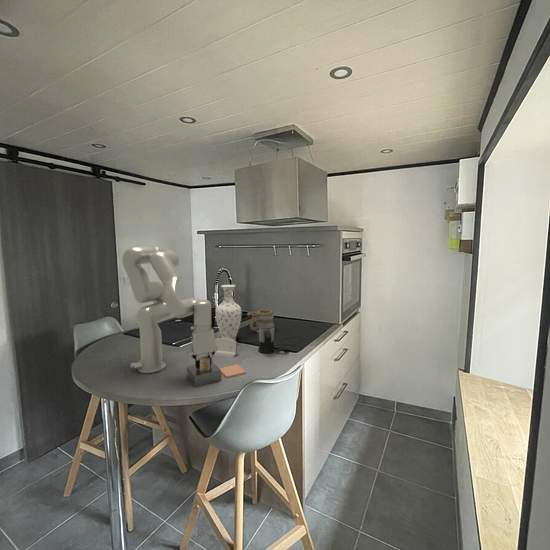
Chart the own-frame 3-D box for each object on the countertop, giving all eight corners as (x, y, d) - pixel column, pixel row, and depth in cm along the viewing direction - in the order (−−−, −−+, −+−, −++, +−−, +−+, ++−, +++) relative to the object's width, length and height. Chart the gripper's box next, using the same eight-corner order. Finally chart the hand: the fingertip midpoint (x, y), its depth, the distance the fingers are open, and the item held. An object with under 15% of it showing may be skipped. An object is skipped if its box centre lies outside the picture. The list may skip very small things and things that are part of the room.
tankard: (268, 327, 219) (268, 307, 218) (277, 332, 208) (277, 310, 207) (243, 331, 210) (243, 310, 208) (250, 336, 199) (250, 314, 197)
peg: (200, 381, 135) (200, 360, 134) (197, 377, 139) (197, 357, 137) (210, 379, 137) (209, 358, 136) (206, 375, 141) (206, 355, 140)
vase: (211, 343, 185) (210, 286, 181) (223, 335, 201) (222, 283, 197) (234, 346, 180) (234, 288, 176) (245, 337, 196) (245, 284, 191)
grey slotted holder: (194, 387, 130) (194, 376, 129) (187, 376, 140) (186, 366, 139) (221, 380, 136) (221, 370, 135) (211, 370, 146) (211, 361, 146)
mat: (226, 378, 138) (226, 376, 138) (218, 370, 147) (218, 368, 147) (246, 373, 144) (246, 371, 144) (237, 365, 152) (237, 364, 152)
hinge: (206, 354, 167) (209, 336, 169) (210, 354, 171) (212, 336, 174) (234, 357, 163) (236, 338, 165) (237, 357, 167) (239, 339, 169)
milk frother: (255, 349, 176) (255, 324, 174) (279, 345, 183) (279, 321, 181) (266, 357, 163) (266, 331, 161) (291, 353, 170) (291, 327, 168)
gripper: (186, 332, 128) (187, 374, 130) (223, 327, 136) (224, 365, 139) (181, 328, 134) (182, 367, 136) (217, 323, 143) (218, 360, 145)
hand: (203, 366), depth 137 cm, fingers closed on peg, 4 cm apart
